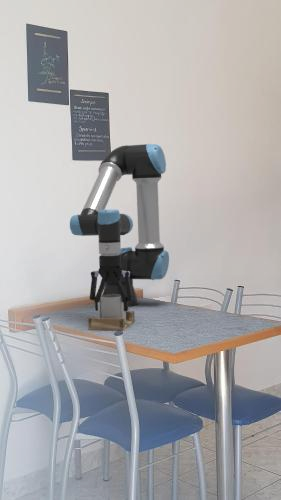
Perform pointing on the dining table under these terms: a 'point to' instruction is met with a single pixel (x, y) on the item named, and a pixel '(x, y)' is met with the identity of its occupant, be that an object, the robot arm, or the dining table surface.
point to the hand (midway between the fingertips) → (112, 320)
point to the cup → (111, 306)
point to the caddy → (111, 322)
